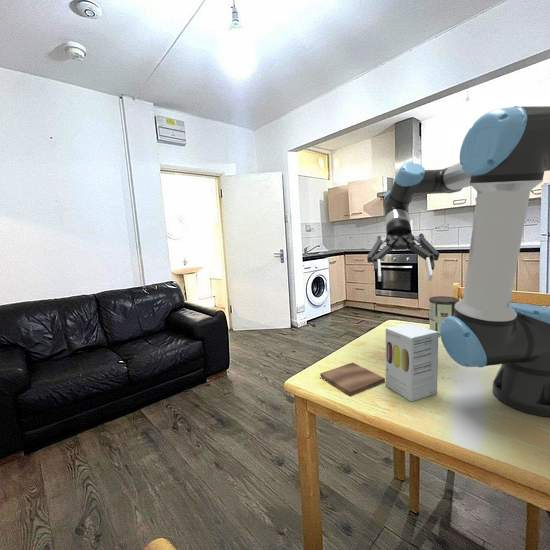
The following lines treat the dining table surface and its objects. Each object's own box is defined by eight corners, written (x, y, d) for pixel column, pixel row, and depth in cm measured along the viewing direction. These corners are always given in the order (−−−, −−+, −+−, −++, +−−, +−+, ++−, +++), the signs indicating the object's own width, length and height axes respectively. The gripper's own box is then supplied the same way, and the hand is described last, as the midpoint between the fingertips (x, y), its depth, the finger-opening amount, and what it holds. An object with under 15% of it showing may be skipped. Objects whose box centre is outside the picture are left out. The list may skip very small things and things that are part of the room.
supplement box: (384, 385, 83) (383, 327, 81) (409, 377, 87) (409, 321, 85) (411, 402, 75) (411, 337, 72) (438, 393, 78) (439, 331, 76)
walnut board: (385, 382, 85) (384, 378, 85) (350, 396, 79) (350, 391, 79) (353, 365, 97) (352, 362, 97) (320, 377, 91) (320, 373, 90)
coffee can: (449, 328, 126) (449, 295, 124) (464, 336, 116) (464, 300, 114) (424, 329, 126) (424, 296, 124) (437, 338, 116) (437, 302, 114)
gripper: (437, 232, 99) (450, 285, 86) (359, 236, 106) (360, 286, 93) (442, 215, 93) (456, 269, 81) (358, 221, 100) (359, 271, 88)
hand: (404, 278), depth 87 cm, fingers open, 13 cm apart
